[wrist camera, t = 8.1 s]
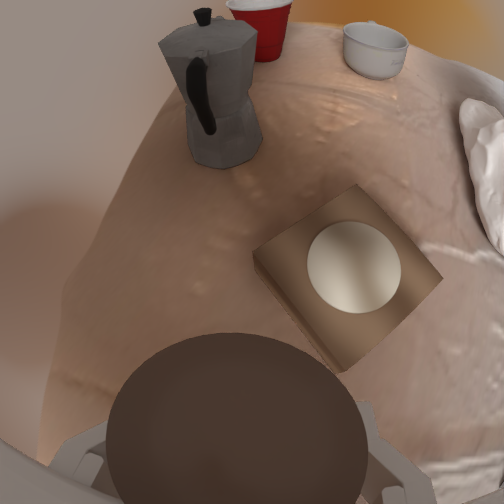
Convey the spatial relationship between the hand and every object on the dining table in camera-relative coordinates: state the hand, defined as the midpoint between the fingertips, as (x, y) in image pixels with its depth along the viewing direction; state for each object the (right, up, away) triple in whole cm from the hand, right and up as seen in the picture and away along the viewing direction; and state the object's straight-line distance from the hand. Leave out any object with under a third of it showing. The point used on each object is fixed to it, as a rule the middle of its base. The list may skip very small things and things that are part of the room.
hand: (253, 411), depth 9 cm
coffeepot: (-3, +18, +27) cm, 32 cm away
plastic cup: (+2, +39, +37) cm, 54 cm away
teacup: (+21, +37, +35) cm, 55 cm away
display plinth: (+9, +2, +19) cm, 21 cm away
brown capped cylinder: (0, -3, +5) cm, 6 cm away
